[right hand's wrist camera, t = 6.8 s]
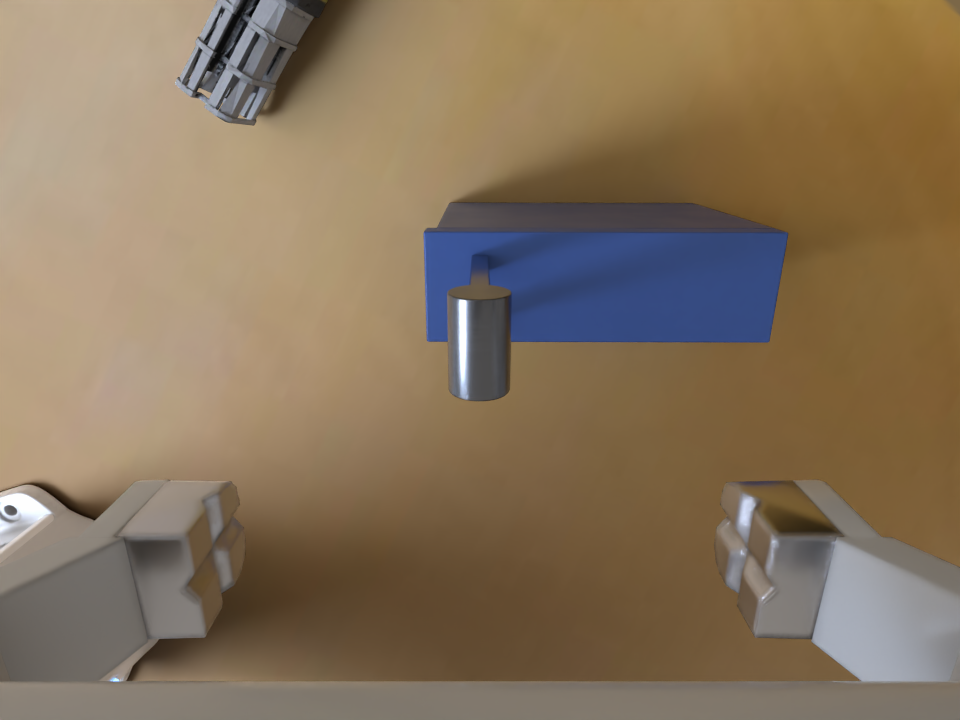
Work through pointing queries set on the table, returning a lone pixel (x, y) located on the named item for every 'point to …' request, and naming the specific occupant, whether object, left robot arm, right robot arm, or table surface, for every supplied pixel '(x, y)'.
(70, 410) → the table surface
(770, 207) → the table surface
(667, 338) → the lid
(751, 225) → the chest
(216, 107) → the toy gun
